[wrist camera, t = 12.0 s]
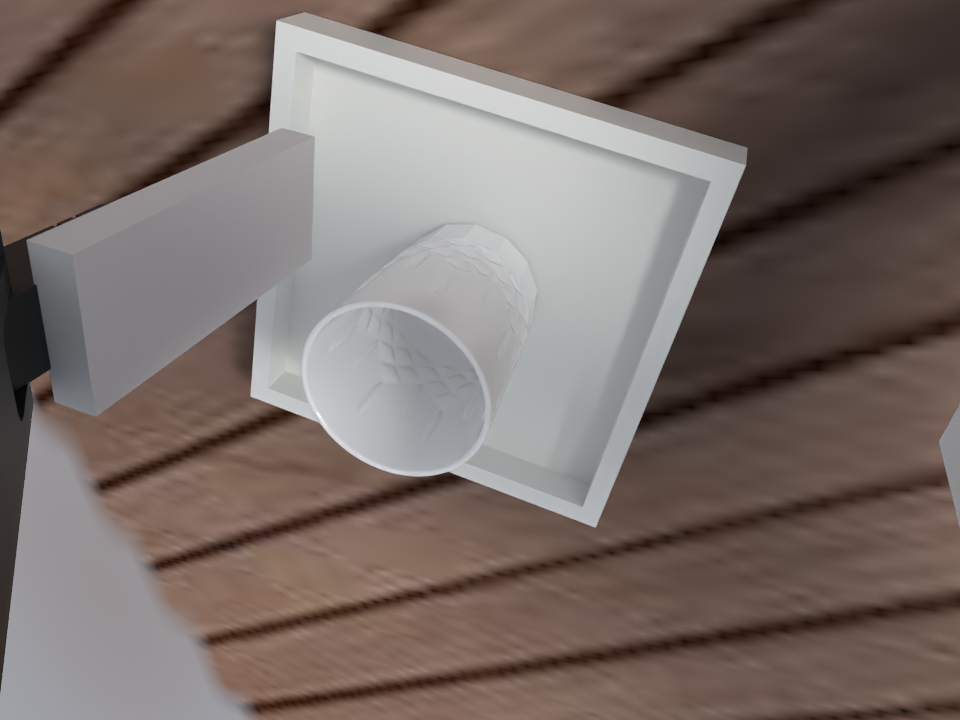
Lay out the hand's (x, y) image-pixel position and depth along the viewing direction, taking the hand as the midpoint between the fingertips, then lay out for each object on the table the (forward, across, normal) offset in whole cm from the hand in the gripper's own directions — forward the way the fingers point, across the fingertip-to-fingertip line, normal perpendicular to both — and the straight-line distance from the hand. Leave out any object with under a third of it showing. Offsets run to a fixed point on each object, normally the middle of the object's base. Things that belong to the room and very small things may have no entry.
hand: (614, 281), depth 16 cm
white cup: (+20, +8, +11) cm, 24 cm away
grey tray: (+20, +9, +11) cm, 25 cm away
